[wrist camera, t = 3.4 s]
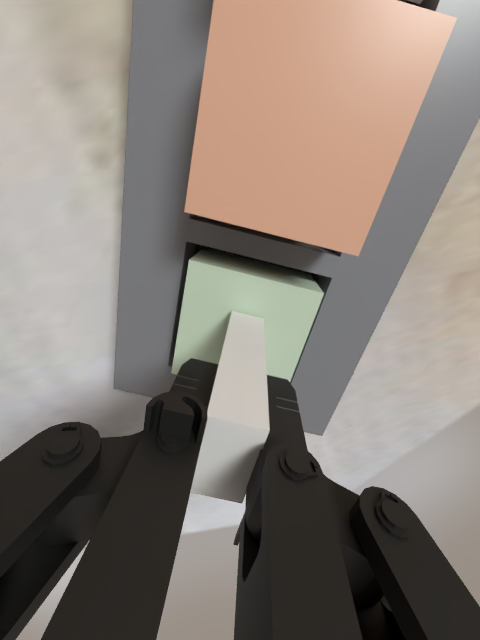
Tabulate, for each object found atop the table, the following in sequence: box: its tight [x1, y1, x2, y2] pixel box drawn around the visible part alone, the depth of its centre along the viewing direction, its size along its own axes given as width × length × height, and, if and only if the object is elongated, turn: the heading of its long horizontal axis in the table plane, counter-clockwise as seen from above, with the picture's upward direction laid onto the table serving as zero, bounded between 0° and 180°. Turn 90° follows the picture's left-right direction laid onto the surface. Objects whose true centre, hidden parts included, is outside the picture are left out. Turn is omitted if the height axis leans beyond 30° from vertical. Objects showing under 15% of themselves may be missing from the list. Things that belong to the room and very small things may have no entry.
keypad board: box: [114, 0, 480, 436], centre depth 12 cm, size 28×13×2 cm, turn 167°
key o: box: [171, 247, 324, 382], centre depth 14 cm, size 6×6×4 cm
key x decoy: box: [184, 0, 457, 256], centre depth 9 cm, size 6×6×4 cm
